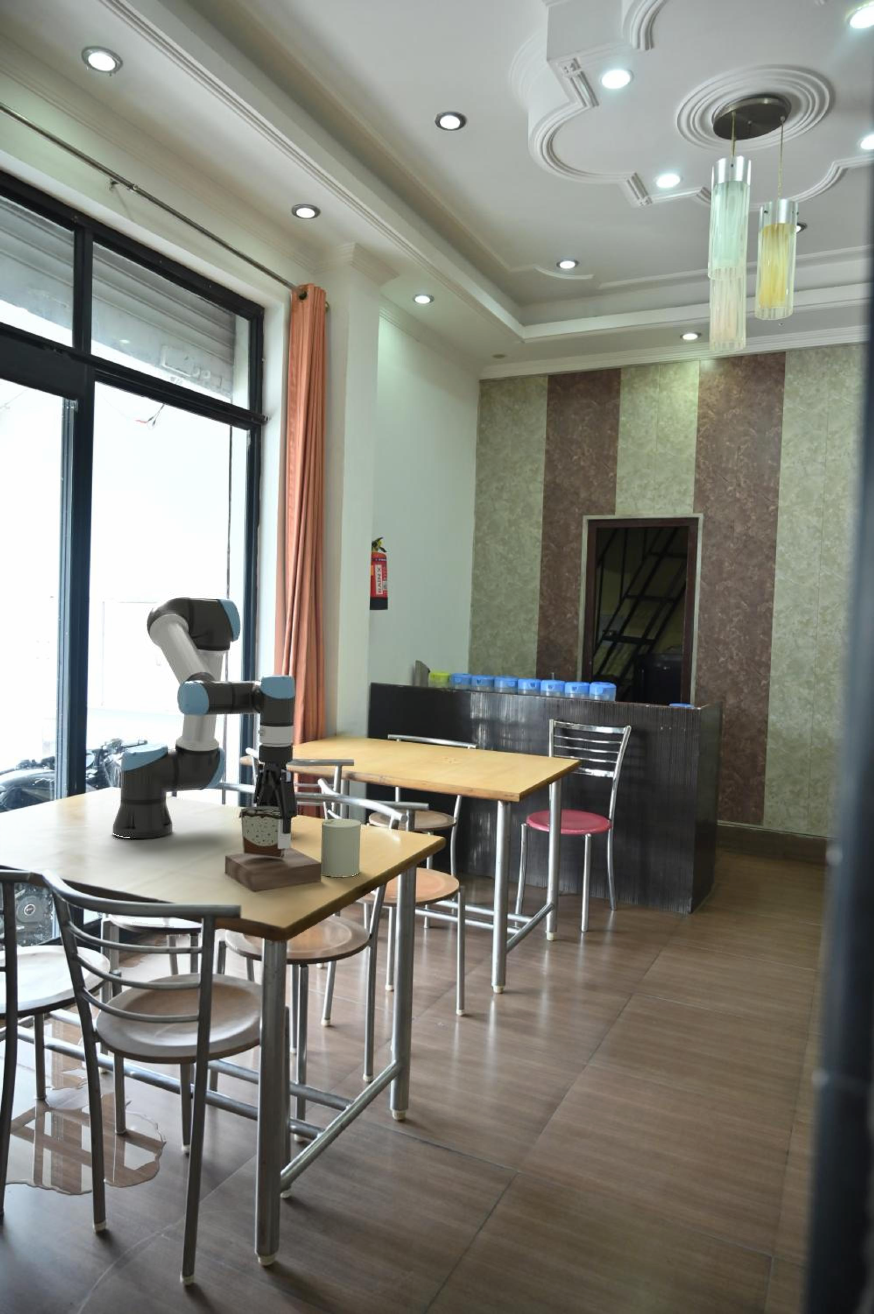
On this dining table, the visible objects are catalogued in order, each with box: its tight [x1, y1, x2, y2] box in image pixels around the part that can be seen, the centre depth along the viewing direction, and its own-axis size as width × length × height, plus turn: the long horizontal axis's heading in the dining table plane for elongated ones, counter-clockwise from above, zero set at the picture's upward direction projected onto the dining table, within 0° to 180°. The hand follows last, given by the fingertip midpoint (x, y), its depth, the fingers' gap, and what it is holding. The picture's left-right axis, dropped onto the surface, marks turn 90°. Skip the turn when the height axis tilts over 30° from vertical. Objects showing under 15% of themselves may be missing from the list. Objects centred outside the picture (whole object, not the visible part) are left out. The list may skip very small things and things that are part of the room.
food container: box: [238, 806, 285, 859], centre depth 189 cm, size 12×6×10 cm, turn 74°
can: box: [320, 818, 362, 878], centre depth 193 cm, size 9×9×12 cm
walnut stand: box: [224, 847, 322, 892], centre depth 188 cm, size 16×16×4 cm
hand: (273, 842), depth 188 cm, fingers closed on food container, 11 cm apart
